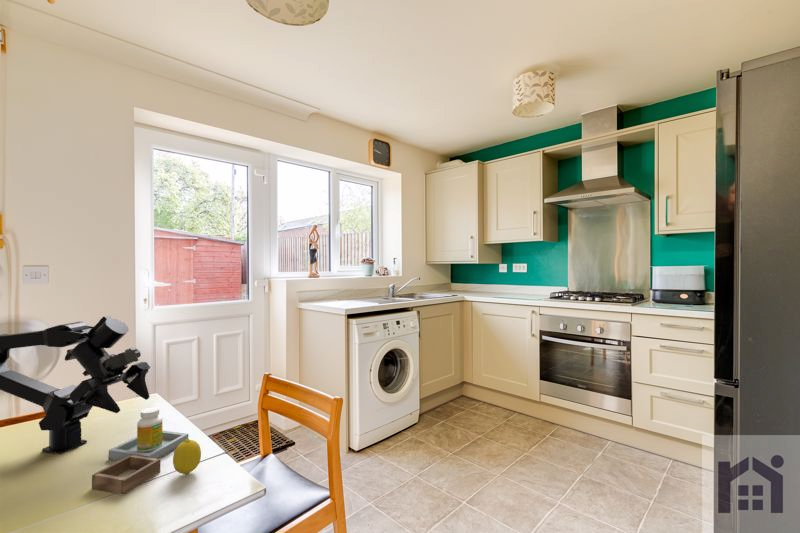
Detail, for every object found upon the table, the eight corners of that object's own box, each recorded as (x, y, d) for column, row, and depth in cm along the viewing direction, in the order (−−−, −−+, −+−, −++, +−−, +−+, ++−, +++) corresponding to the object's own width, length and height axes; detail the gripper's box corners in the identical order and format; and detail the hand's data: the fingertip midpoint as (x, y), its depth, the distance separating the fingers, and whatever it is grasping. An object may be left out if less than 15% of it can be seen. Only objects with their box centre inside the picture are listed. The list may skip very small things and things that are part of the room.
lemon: (188, 483, 79) (188, 446, 79) (166, 480, 80) (167, 443, 80) (206, 469, 85) (206, 435, 85) (186, 466, 86) (186, 432, 86)
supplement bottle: (154, 452, 91) (154, 413, 91) (131, 453, 91) (132, 414, 91) (166, 442, 96) (167, 405, 96) (145, 442, 96) (146, 406, 96)
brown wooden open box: (91, 488, 77) (91, 474, 77) (130, 467, 85) (130, 454, 85) (124, 494, 75) (124, 480, 75) (160, 472, 83) (160, 459, 83)
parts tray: (108, 459, 89) (108, 450, 89) (152, 436, 101) (152, 429, 101) (148, 465, 86) (148, 456, 86) (188, 441, 98) (188, 433, 98)
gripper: (81, 347, 85) (124, 396, 84) (144, 333, 104) (180, 373, 102) (50, 379, 86) (92, 428, 85) (119, 359, 104) (153, 399, 103)
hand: (134, 404), depth 94 cm, fingers open, 9 cm apart
